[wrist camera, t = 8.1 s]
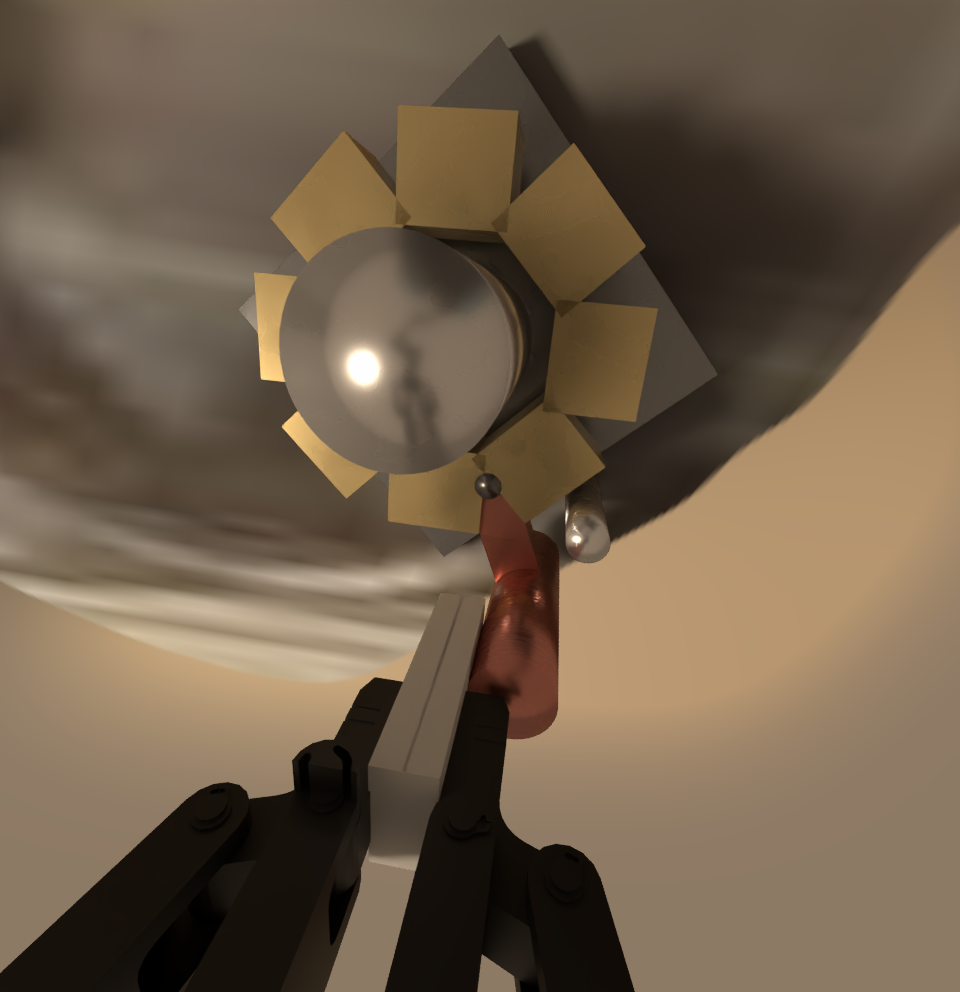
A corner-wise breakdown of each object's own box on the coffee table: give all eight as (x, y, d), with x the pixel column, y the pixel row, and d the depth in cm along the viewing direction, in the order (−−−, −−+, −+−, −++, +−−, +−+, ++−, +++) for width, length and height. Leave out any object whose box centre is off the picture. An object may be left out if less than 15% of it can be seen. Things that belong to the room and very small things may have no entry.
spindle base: (502, 50, 17) (426, -289, 7) (735, 410, 19) (897, 499, 10) (253, 309, 21) (3, 305, 11) (472, 576, 23) (414, 748, 14)
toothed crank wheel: (253, 223, 18) (15, 152, 10) (592, 76, 15) (624, -181, 7) (406, 607, 23) (322, 763, 15) (689, 551, 20) (773, 708, 12)
